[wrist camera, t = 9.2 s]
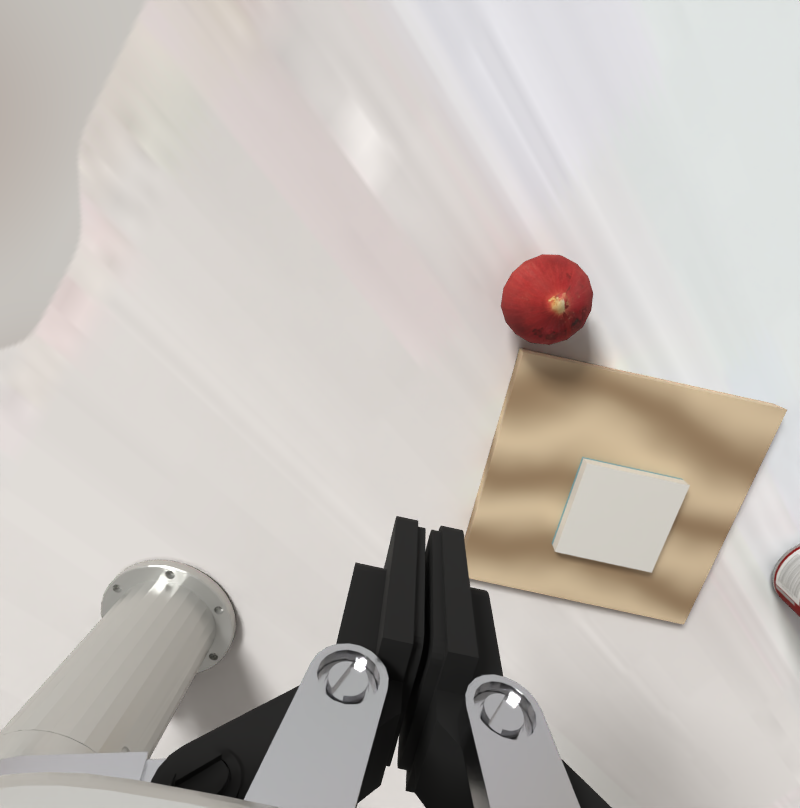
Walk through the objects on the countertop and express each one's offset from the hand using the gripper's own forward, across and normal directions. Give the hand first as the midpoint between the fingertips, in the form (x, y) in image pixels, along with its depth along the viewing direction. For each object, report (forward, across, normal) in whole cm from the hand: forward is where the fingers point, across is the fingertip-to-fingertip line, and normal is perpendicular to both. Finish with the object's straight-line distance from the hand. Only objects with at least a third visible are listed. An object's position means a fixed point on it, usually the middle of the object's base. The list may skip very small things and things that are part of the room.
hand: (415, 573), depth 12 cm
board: (+27, -17, +8) cm, 33 cm away
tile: (+25, -14, +9) cm, 30 cm away
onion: (+27, -7, -6) cm, 29 cm away
